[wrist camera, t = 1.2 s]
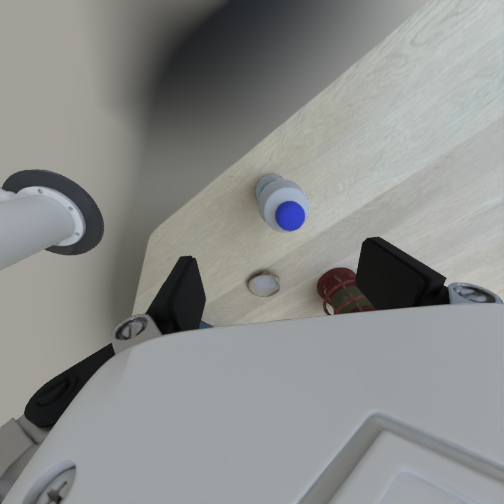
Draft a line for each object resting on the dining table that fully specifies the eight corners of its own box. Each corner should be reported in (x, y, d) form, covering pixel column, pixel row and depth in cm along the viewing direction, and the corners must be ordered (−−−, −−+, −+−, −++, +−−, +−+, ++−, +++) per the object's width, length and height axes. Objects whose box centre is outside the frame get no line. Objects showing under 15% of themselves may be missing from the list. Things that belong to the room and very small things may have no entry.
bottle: (283, 207, 41) (314, 248, 23) (252, 204, 41) (259, 244, 23) (289, 173, 38) (330, 190, 20) (255, 170, 38) (267, 184, 20)
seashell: (245, 282, 52) (271, 298, 52) (242, 290, 49) (269, 306, 50) (261, 261, 47) (288, 278, 48) (258, 268, 45) (287, 286, 45)
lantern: (307, 277, 50) (382, 420, 23) (353, 256, 47) (495, 389, 21) (322, 308, 55) (398, 454, 28) (364, 290, 53) (490, 432, 26)
